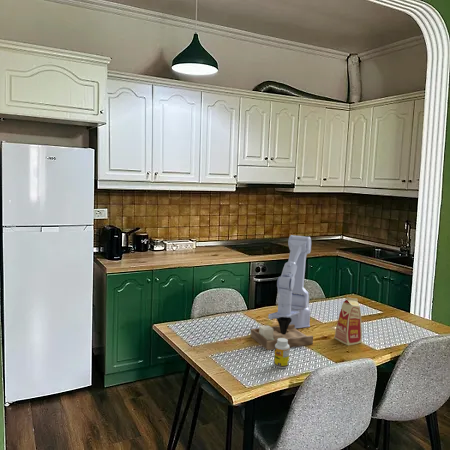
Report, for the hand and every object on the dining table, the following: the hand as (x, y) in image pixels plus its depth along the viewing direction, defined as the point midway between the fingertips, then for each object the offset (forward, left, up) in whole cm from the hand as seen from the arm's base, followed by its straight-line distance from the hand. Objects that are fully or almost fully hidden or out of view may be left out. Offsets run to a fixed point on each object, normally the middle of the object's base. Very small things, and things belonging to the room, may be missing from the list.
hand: (283, 333), depth 192 cm
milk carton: (-28, +9, -3) cm, 30 cm away
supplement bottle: (+14, +23, -3) cm, 27 cm away
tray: (+1, 0, -3) cm, 3 cm away
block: (+9, 0, -1) cm, 9 cm away
